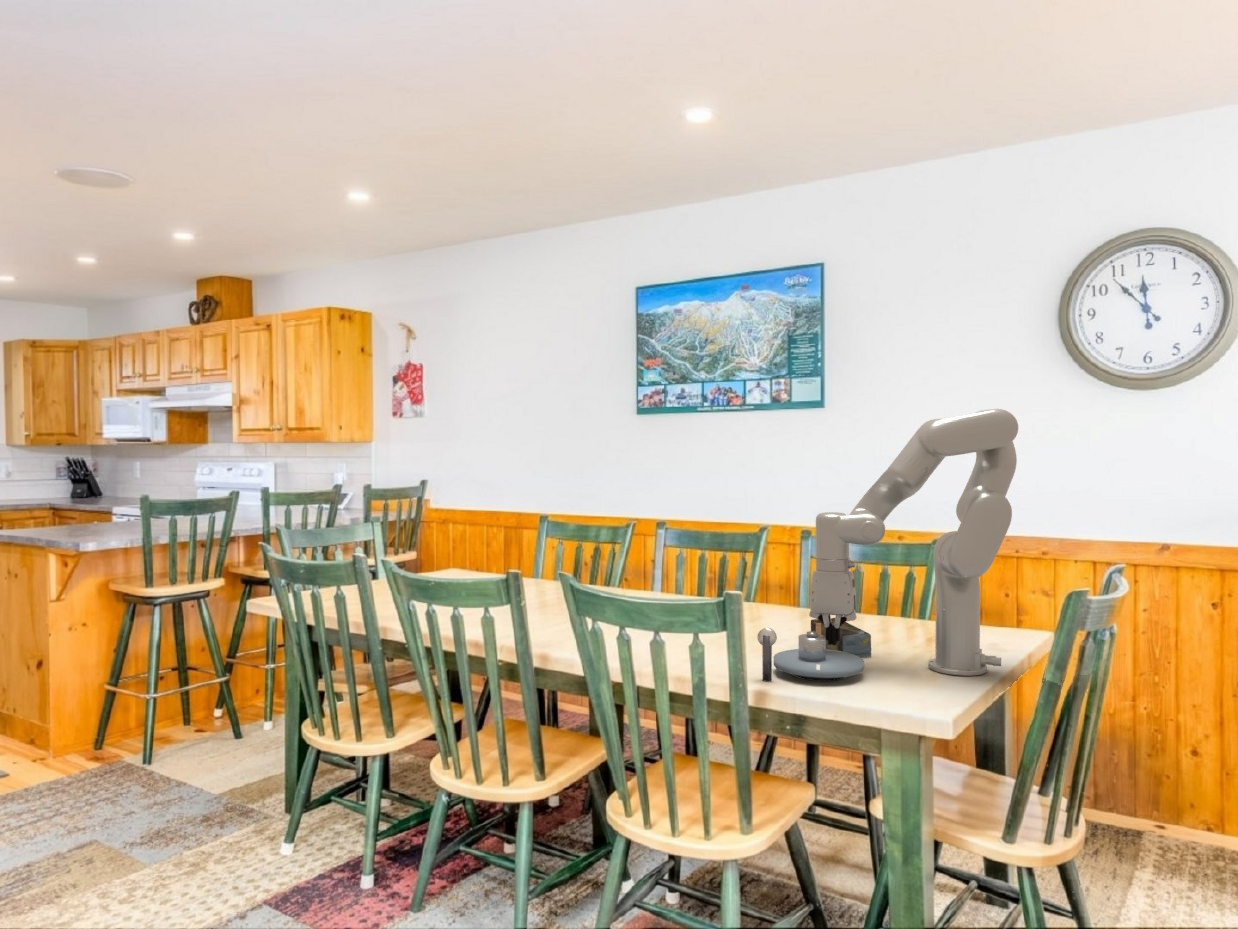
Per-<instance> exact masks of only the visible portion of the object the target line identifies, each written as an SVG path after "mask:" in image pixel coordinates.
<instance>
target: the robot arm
mask: <svg viewBox="0 0 1238 929" xmlns="http://www.w3.org/2000/svg"><path fill="white" fill-rule="evenodd" d="M1018 433H1019V423H1018V420H1017V419H1016V416H1014V415H1013V413H1011V412H1009V411H1008V410H1006V409H1002V408H993V409H992V408H991V409H983V410H980V411H976V412H974V413H969V414H964V415H958V416H952V417H941V418H934V419H933V418H932V419H929V420H927V421H925V422H924V423H923V424H921V425H920V427H919V428H918V429H917V430H916V431H915V433H914V434H913V435H912V437H911V438H910V439H909V440H908V442H907V443H906V444H905V446H904V447H903V448H902V450H901V451H900V452H899V453H898V454H897V456H896V457H895V458H894V460H893V461H892V462H891V464H890V465H889V466H888V468H887V469H886V470H885V471H884V472H883V473H882V474H881V475H880V477H879V478H878V479H877V480H876V481H875V482H874V484H872V485H871V486H870V487H869V489H868V490H867V491H866V492H865V493H864V495H863V496H862V497H861V499H860V500H859V501H858V503H857V504H856V505H855V506H854V508H853V509H851V510H852V511H851V512H850V513H849V514H846V513H843V512H835V511H827V512H821V513H818V514H816V517H815V569H814V570H813V572H812V576H811V582H810V593H809V609H810V611H809V617H810V618H813V619H819V620H820V621H821V622H822V623H823V624H824V626H825V627H826V640H828V645H836V644H837V643H838V641H840V626H841V625H842V624H843V623H845V622H851V621H852V622H854V621H855V620H857V613H856V610H857V594H856V582H855V576H854V573H853V571H852V570H850V569H853V568H856V561H852V560H851V559H850V544H852V545H853V544H854V545H859V546H874V545H876V544H878V543H879V542H881V541H882V540H883V539H884V537H885V535H886V526H885V523H884V522H885V520H886V519H887V517H889V516H890V514H891V513H892V512H893V510H894V509H895V508H897V507H898V506H899V505H900V504H901V503H903V501H905V500H908V498H910V497H912V496H914V495H915V494H917V493H918V492H919V491H920V490H921V489H922V488H923V486H924V485H925V484H926V483H927V481H928V479H929V478H930V477H931V476H932V474H933V473H934V471H936V470H937V468H938V466H939V465H941V463H942V461H944V459H945V458H946V457H953V456H959V455H966V454H972V453H975V454H976V457H975V463H974V465H973V467H972V472H971V474H970V477H969V479H968V480H967V483H966V485H965V488H964V490H963V491H962V493H961V496H960V498H959V499H958V501H957V504H956V507H955V508H956V509H955V514H956V517H957V519H958V521H960V523H959V526H958V529H957V530H952V531H949V532H945V533H944V534H942V535H941V536H940V537H939V538H938V539H937V540H936V541H935V542H936V543H935V545H934V547H933V565H934V566H933V567H934V580H935V636H934V637H935V640H934V641H935V644H934V645H935V655H934V656H935V658H931V659H930V660H928V661H927V662H928V663H927V666H928V668H929V669H930V670H932V671H934V672H937V673H941V674H946V675H952V676H953V675H954V676H965V677H967V676H968V677H969V676H971V677H972V676H979V675H980V676H981V675H984V674H986V673H987V672H988V667H987V666H993V667H1002V657H997V655H987V654H985V653H983V649H982V648H981V644H980V643H981V639H980V638H981V584H980V577H982V576H984V575H985V574H986V573H987V572H988V571H989V569H990V568H991V566H992V564H993V563H994V561H995V559H996V557H997V555H998V552H999V550H1000V548H1001V546H1002V544H1003V541H1004V539H1005V537H1006V536H1007V533H1008V531H1009V528H1010V525H1011V522H1012V519H1013V518H1012V517H1013V510H1012V505H1011V503H1010V501H1009V500H1008V498H1007V497H1006V496H1007V493H1008V490H1010V489H1009V488H1010V487H1011V483H1012V480H1013V479H1014V476H1015V472H1016V468H1017V462H1018V461H1017V460H1018V459H1017V451H1016V447H1015V444H1014V440H1015V439H1016V438H1017V435H1018ZM832 616H835V617H834V618H835V623H834V625H832V623H831V618H832Z"/></svg>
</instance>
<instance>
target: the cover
mask: <svg viewBox="0 0 1238 929" xmlns="http://www.w3.org/2000/svg"><path fill="white" fill-rule="evenodd" d="M798 649H799V660H802V661H806V662H823V661H825V660H826V637H825V636H822V635H818V633H817V632H814V631H811V630H810V631H809V630H808V631H806V633H805V634H799V635H798Z"/></svg>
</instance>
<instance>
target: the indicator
mask: <svg viewBox="0 0 1238 929" xmlns="http://www.w3.org/2000/svg"><path fill="white" fill-rule="evenodd" d="M777 636H778V635H777V633H776V631H775V630H774V629H773V628H771V627H763V628H762V629H760V630H759V631H758V633H757V641H758V643H759V644H760V645H761V648H762V649H761V650H762V661H761V662H762V664H761V666H762V681H763V682H772V680H773V679H772V678H773V673H772V671H773V669H772V668H773V667H772V666H773V664H772V663H773V660H772V659H773V658H772V657H773V655H772V654H773V651H772V649H773V648H772V647H773V645H774V644H776V642H777V639H778V638H777Z"/></svg>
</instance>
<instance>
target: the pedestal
mask: <svg viewBox="0 0 1238 929" xmlns="http://www.w3.org/2000/svg"><path fill="white" fill-rule="evenodd" d="M792 676H794V677H797V678H799V679H802V680H803V679H804V680H808V681H816V682H818V681H819V682H830V681H831V682H832V681H833V682H834V681H839V680H842V679H844V678H845V677H838V678H817V677H806V676H799V675H794V674H792Z"/></svg>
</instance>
